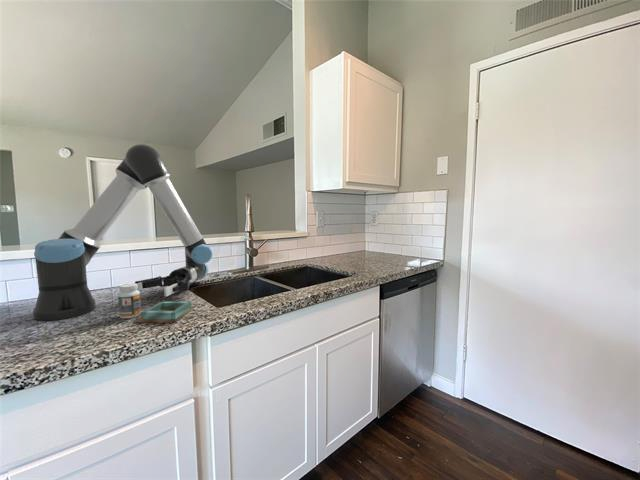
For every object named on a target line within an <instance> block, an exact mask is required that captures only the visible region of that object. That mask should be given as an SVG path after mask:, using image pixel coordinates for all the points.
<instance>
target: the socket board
mask: <svg viewBox="0 0 640 480" xmlns="http://www.w3.org/2000/svg"><path fill="white" fill-rule="evenodd" d="M191 312H192V301H160V302H158V303H156V304H155V305H153V306H150V307H149V308H148V309H145V310H143V311H141V315H139V316H137V318H136V317H135V322H136V323H174V324H175V323H177V322H178V321H180V320H181V319H183V318H184V317H185V316H187V315H188V314H189V313H191Z"/></svg>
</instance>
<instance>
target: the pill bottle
mask: <svg viewBox="0 0 640 480" xmlns="http://www.w3.org/2000/svg"><path fill="white" fill-rule="evenodd" d="M137 288H138V285H137V284H136V283H135V282H133V283H132V282H131V283H124V284H121V285H119V291H120V292H119V293H118V297H117V298H118V299H117V300H118V311H119V317H120V318H121V319H123V320H124V319H134V318H136V317H137V318H138V317H140V316H141V315H142V301H141V291H138V290H137Z"/></svg>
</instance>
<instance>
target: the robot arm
mask: <svg viewBox="0 0 640 480" xmlns="http://www.w3.org/2000/svg"><path fill="white" fill-rule="evenodd" d="M115 174H116V175H115V177H114V178H113V180H112V181H111V182H110V183H109V185H108V186H107V187H106V188H105V190H103V192H102V193H101V194H100V195H99V197H98V198H97V199H95V201H94V203H93V204H92V206H91V207H89V209H88V210H87V211H86V212H85V213H84V215H83V216H82V218H81V219H80V220H79V221H78V222H77V224H76V225H75V226H74V228H70V229H65V230H64V231H63V232H62V234H61V235H60V236H59V237H58V238H57V239H56V238H55V239H49V240H42V241H41V242H38V243H37V244H36V245H34V246H35V247H34V252H33V254H34V255H33V256H34V259H35V266H36V276H37V285H38V286H37V287H38V295H37V299H36V303H35V307H34V308H33V309H32V310H33V311H32V315H33V319H34V320H36V321H43V322H44V321H58V320H64V319H69V318H73V317H78V316H82V315H85V314H87V313H90V312H92V311H94V310H95V309H96V307H97V305H96V300H95V298H94V297H93V294H92V293H91V291H90V288H89V286H88V278H87V276H88V275H87V267H86V266H88V264H89V263H90V262H91V259H92V258H93V257H94V256H95V255H96V253H97V252H98V250H99V249H100V248H101V245H100V241H101V239H102V238H103V236H104V235H105V234H106V233H107V232H108V230H110V228H111V227H112V225H113V224H114V223H115V221H117V219H118V217H119V216H120V215H121V214H122V213H123V211H124V210H125V209H126V208H127V206H128V205H129V203H130V202H131V201H132V200H133V199H134V197H135V196H136V195H137V194H138V192H140V191H141V190H147V188H148V189H149V190H150V192H151V194H152V196H153V197H154V198H155V199H154V200H156V202H157V203H158V205H159V208H160V209H161V210H162V212H163V214H164V215H165V217H166V219H167V220H168V222H169V223H170V225H171V227H172V228H173V230H174V231H175V233H176V235H177V236H178V238H179V240H180V241H181V243H182V245H183V247H184V255H185V256H184V257H185V266H182V267H180V268H177V269H174V270H172V271H171V272H170V273H169V275H166V276H163V277H162V276H161V275H160V276H156V277H153V278H152V277H151V278H147V279H141V280H136V281H134V283H136V284H137V285H138V288H137V290H138V291H139V292H142V291H143V289H149V288H155V287H161V288H163V287H164V289H163V290H164V297H169V296H171V295H172V294H175V293H177V292H179V291H183V290H184V291H189V288H190V285H192V284H193V283H194V282H197V281H199V280H202V279H203V278H205V277H206V276H207V275H208V274H209V270H210V269H209V266H208V264H207V263H208V262H210V261H211V259H212V258H213V250H212V249H211V248H210V246H209V245H208V244H207V243H206V241H205V239H204V236H203V235H202V234H201V232H200V229H198V227H197V225H196V224H195V222H194V219H193V218H192V217H191V214H190V213H189V211H188V209H187V208H186V206H185V205H184V203H183V200H182V199H181V197H180V195H179V194H178V191H177V190H176V189H175V186H174V185H173V183H172V181H171V180H170V177H171V173H170V172H169V170H168V168H167V166H166V164H165V163H164V160H163V158H162V156H161V154H160V153H159V151H158V150H156V149H155V148H154V147H153V146H151V145H148V144H144V143H143V144H135V145H133V146H131V147H130V148H129V149H128V150H127V151H126V153H125V157H124V159H123V160H122V161H121V162H120V163H119V164H118V166H117V167H116V168H115Z"/></svg>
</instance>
